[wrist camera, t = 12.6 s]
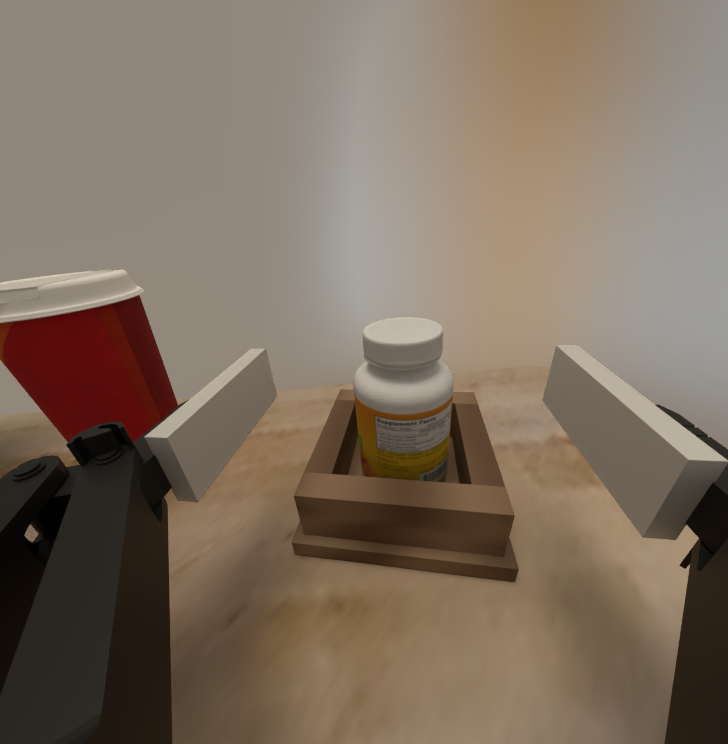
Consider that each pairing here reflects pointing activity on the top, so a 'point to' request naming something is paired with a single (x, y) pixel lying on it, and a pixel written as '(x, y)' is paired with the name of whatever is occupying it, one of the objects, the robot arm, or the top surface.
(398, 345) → the supplement bottle
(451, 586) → the top surface
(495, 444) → the top surface
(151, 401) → the paper cup
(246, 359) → the robot arm
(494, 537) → the socket block
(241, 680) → the top surface
